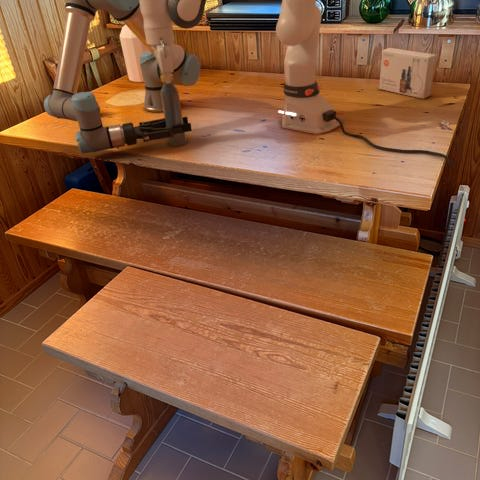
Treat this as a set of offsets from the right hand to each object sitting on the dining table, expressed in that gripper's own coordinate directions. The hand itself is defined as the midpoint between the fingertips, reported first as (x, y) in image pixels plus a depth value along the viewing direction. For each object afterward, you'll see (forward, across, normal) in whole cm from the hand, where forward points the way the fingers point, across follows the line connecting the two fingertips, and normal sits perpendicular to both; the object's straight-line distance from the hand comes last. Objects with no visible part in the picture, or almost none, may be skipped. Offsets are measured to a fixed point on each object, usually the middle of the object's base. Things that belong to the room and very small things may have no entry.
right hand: (167, 80), depth 153 cm
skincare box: (+22, +10, -95) cm, 98 cm away
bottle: (+22, 0, 0) cm, 22 cm away
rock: (+22, +47, +32) cm, 61 cm away
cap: (-1, 0, 0) cm, 1 cm away
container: (+22, +97, +2) cm, 99 cm away
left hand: (+16, 0, -5) cm, 17 cm away
